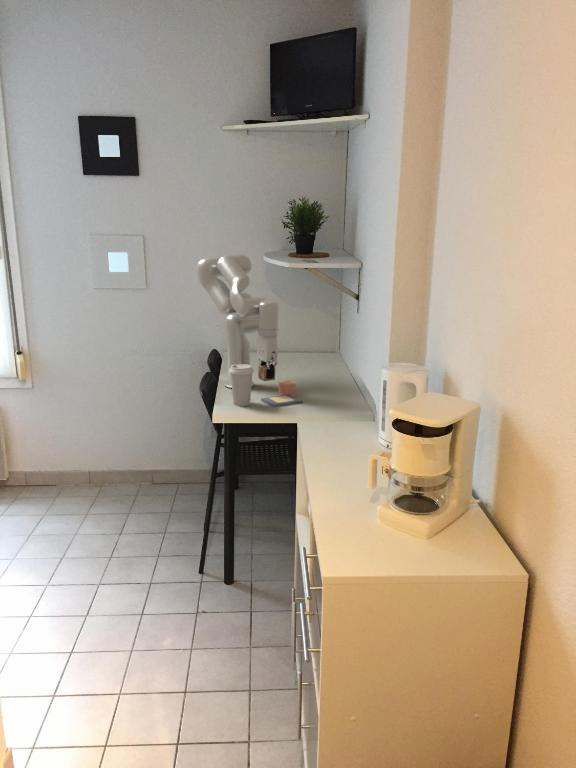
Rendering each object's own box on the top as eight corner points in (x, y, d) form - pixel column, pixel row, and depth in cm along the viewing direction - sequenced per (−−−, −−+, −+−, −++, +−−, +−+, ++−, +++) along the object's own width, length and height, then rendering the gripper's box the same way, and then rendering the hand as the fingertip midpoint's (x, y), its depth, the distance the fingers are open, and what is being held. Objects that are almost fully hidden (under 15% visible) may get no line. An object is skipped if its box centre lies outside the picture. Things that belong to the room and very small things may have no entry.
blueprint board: (261, 400, 259) (261, 398, 258) (289, 396, 265) (289, 393, 265) (273, 407, 250) (273, 404, 250) (302, 402, 256) (302, 399, 256)
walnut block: (258, 377, 264) (258, 366, 263) (269, 376, 267) (269, 364, 265) (264, 381, 260) (264, 369, 259) (275, 379, 263) (275, 367, 261)
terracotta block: (278, 394, 268) (278, 382, 267) (289, 392, 271) (289, 380, 270) (284, 397, 264) (284, 385, 263) (295, 395, 267) (295, 383, 265)
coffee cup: (229, 400, 259) (229, 363, 255) (253, 400, 260) (253, 363, 256) (229, 407, 250) (228, 369, 246) (254, 407, 250) (253, 369, 246)
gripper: (249, 328, 263) (249, 372, 269) (269, 337, 249) (268, 383, 255) (266, 327, 267) (265, 370, 272) (286, 336, 253) (285, 381, 258)
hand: (266, 376), depth 263 cm, fingers closed on walnut block, 5 cm apart
